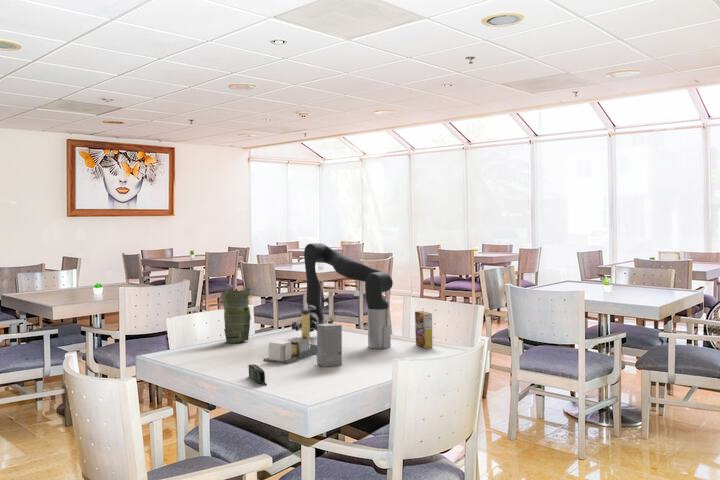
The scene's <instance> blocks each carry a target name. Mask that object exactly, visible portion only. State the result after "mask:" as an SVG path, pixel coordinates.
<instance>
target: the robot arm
mask: <svg viewBox="0 0 720 480" xmlns="http://www.w3.org/2000/svg"><path fill="white" fill-rule="evenodd" d="M303 256H304V258H303V259H304V268H305V275H306V299H305V301H306V304H307V305H311V306H313V307H315V308H316V309H312V308H311V309H310V308H308V310H310V333H311V332H314V331H316V332H317V324H325V321H324V319H325V318H324V317H325V315H324V313H323V309H322V302H321V301H322V285H321V282H320V280H319V277H318V275H317V271H316V263H325V264H327V265H330V266H331V267H333V270H334V271H335V272H336V273H337V274H339V275H341V276H342V277H345V278H348V279H349V280H354V281H360V282H365V283H364V286H365V287H364V289H365V302H366V304H367V347H368V349H369V348H370V349H381V350H382V349H387V348H389V347H391V345H392V344H391V342H392V341H391V340H392V339H391V335H392V334H391V333H392V332H391V325H390V322H389V319H390V317H389V314H390V313H389V308H390V307H389V302H388V301H387V300H385V299H384V298H383V293H386V292H388V291H390V290H391V289H392V287H393V284H394V283H393V279H392V277H391V275H390V274H389V273H387V272H385V271H382V270H381V269H380V270H379V269H376V268H373V267H371V266H369V265H367V264H365V263H363V262H361V261H358V260H356V259H355V258H352V257H350V256H348V255H345V254H343V253H341V252H337V251H336V250H334V249H333V248H331V247H329V246H328V245H326V244H324V243H322V242H321V243H319V242H318V243H317V242H315V243H312V242H311V243H308V244H307V245H305V247H304V251H303ZM291 330H295V331H296V332H299V331H302V320H301V321H299V322H298V323H297V321H293V322H292V323H291Z"/></svg>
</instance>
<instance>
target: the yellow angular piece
mask: <svg viewBox="0 0 720 480" xmlns="http://www.w3.org/2000/svg"><path fill="white" fill-rule="evenodd" d="M308 309H309V308H308ZM308 309H307V308H306V309H300V315H301V318H300V319H301V321H302V330H301V338H305V339H308V351H309V350H310V344H311V332H310V310H311V309H310V310H308ZM297 354H298V343H295V342H294V343H291V356H294V355H297Z"/></svg>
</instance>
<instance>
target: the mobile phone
mask: <svg viewBox="0 0 720 480" xmlns="http://www.w3.org/2000/svg"><path fill="white" fill-rule="evenodd" d="M248 377H249V378H251V380H253V381H254V383H256V384H263V385H265V386H267V385H268V383H266V373H265V371H264V370H263V368H261V367H260V365H259V366H258V365H257V364H249V365H248Z"/></svg>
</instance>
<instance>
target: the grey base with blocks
mask: <svg viewBox="0 0 720 480" xmlns="http://www.w3.org/2000/svg"><path fill="white" fill-rule="evenodd" d="M287 341H290V342H291V343H294V342H295V343H298V354H297V355H294V356H291V359H288V360H285V361H279V360H271V359H269V356H268V357H265V358H262V359H263V361H264V362H269V363H270V362H271V363H278V364H283V365H288V364H291V363H294V362H298V361H300V360H303V359H306V358H309V357H312V356H316V355H317V344H311V343H310V350H309V351H308V339H305V338H302V337H294V338H290V339H288V340H287Z"/></svg>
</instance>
